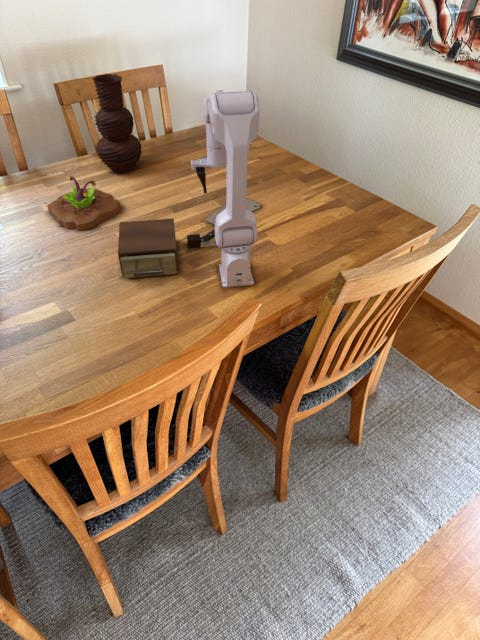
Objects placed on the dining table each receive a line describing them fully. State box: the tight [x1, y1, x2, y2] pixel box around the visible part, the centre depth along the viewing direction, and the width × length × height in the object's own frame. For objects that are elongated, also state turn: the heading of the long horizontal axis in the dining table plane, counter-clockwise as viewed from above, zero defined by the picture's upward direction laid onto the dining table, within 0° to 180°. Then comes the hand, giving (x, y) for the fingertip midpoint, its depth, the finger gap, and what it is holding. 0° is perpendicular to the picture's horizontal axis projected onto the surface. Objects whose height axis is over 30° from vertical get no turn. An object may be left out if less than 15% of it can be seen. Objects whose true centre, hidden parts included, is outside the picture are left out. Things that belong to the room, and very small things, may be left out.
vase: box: [91, 73, 142, 175], centre depth 155 cm, size 15×15×30 cm
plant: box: [46, 175, 121, 231], centre depth 140 cm, size 20×20×11 cm
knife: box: [186, 233, 218, 250], centre depth 129 cm, size 9×2×3 cm, turn 99°
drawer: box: [121, 251, 178, 279], centre depth 120 cm, size 19×13×6 cm
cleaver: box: [200, 197, 261, 242], centre depth 141 cm, size 29×1×10 cm
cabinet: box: [117, 217, 180, 278], centre depth 124 cm, size 15×15×8 cm
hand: (218, 191), depth 134 cm, fingers open, 7 cm apart
